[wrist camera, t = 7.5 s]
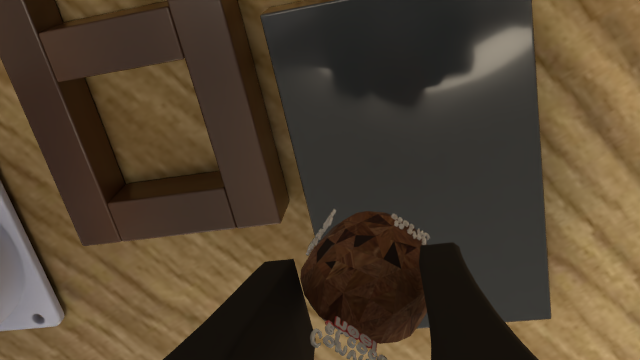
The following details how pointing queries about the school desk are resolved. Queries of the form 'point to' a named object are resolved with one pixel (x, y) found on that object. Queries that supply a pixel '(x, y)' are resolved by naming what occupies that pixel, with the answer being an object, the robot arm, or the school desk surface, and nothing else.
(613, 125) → the school desk surface
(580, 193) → the school desk surface
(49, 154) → the rack
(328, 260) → the chocolate
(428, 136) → the board
